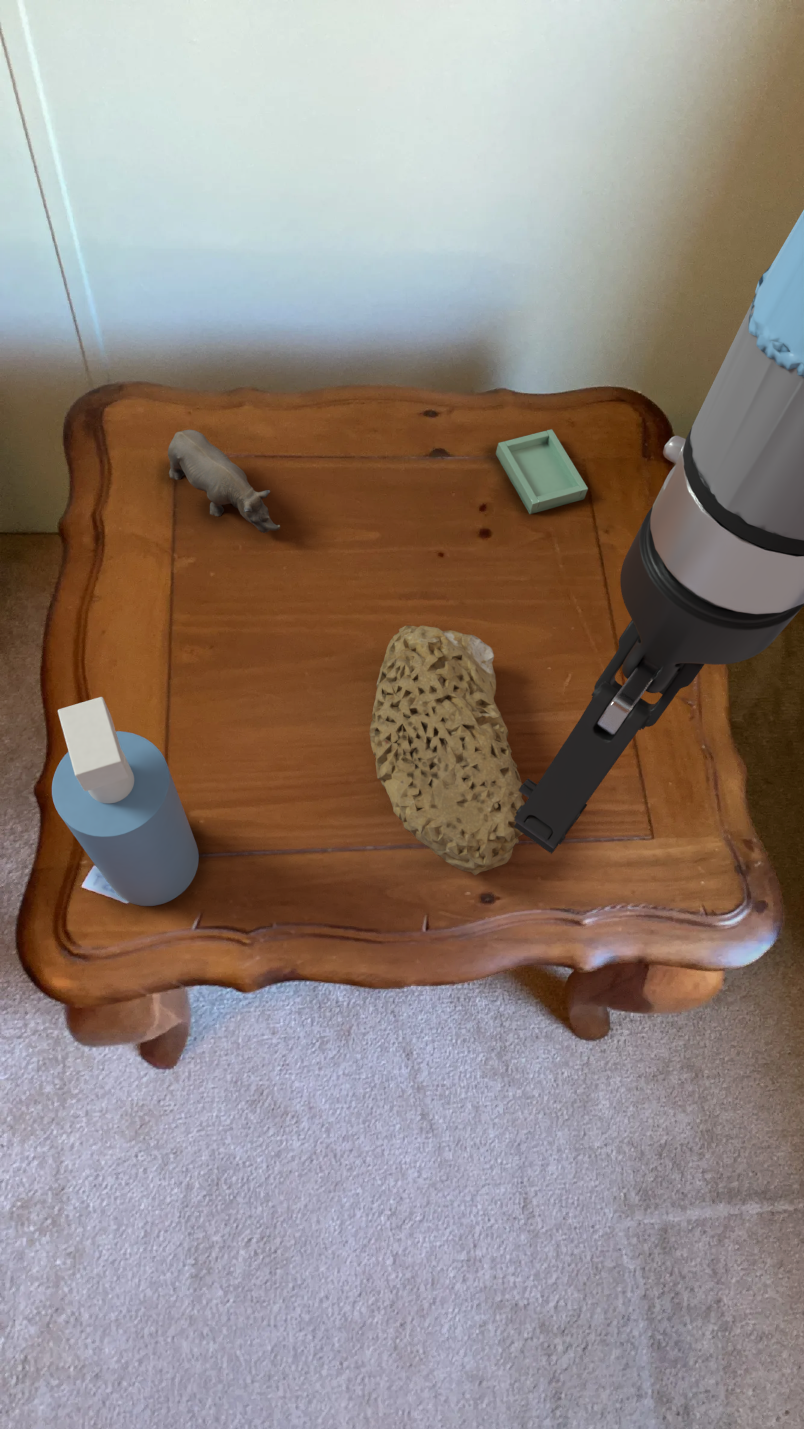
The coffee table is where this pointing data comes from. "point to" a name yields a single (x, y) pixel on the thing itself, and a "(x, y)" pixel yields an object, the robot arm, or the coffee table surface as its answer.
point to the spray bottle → (123, 807)
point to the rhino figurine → (217, 478)
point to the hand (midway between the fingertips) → (594, 754)
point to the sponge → (446, 747)
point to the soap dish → (541, 471)
